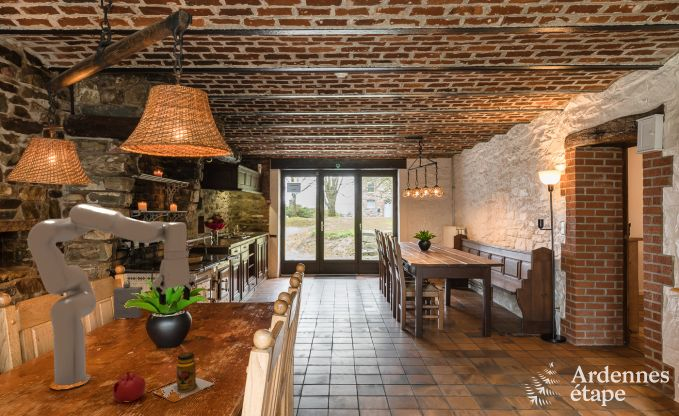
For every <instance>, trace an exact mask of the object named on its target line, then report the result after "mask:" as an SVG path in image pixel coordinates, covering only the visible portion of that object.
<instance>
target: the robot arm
mask: <svg viewBox="0 0 679 416" xmlns="http://www.w3.org/2000/svg"><path fill="white" fill-rule="evenodd" d="M90 231H98V232H103V233H106V234H110V235H113V236H115V237H119V238H120V239H121V238H122V239H123V240H124V239H125V240H129V241H133V242H137V243H143V244H151V243H156V242H157V243H158V242H161V241H162V242H163V241H164V244H163V245H164V247H163V249H164V250H163V251H164V252H163V253H164V255H163V257H164V258H163V259H162V260H161V263H160V267H159V276H158V278H157V279H155V280H154V281H152V282H151V285H152V288H153V289H154V291H155V292H156V293H158V303H159V305H161V306H166V305H167V293H166V291H167V290H168V289H171V288H177V287H182V286H183V290H182V298H183V299H182V300H185V301H190V300H191V290H192V287H193V286H194V285H195V281H196V279H197V276H196V275H193V274H191V273H190V266H189V260H188V258H187V256H188V255H190V254H189V251H188V250H187V224H186V223H185V222H181V221H179V222H178V221H169V222H167V221H161V220H160V221H158V220H157V221H144V220H139V219H135V218H132V217H128V216H125V215H123V213H122V212H120V211H118V210H114V209H109V208H104V207H103V206H102V205H100V204H97V203H78V204H76V205H74V206H72V207H71V209H70V210H69V213H68V217H65V218H51V219H43V220H42V221H40V222H38V223H36V224H35V225H34V226H32V227H31V229H30V231H28V232H29V233H28V236H27V246H28V249H29V253H30V254H31V256H32V258H33V260H34V262H35V265H36V268H37V271H38V273H39V275H40V276H39V277H40V278H41V281H42V284H43V286H44V289H45V290H46V291H47V293H48V294H50V295H53V296H57V295H63V294H65V296H64V297H61V298H59V299H58V300H57V301H55V302H54V303H53V304H52V305H51V308H50V313H49V315H50V320H51V326H52V330H53V331H52V332H53V333H52V334H53V360H54V361H53V362H54V363H53V366H54V367H53V369H54V380H55V384H57V385H71V384H75V383H78V382H80V381H81V382H82V383H83V382H85V381H87V380H89V379H90V377H91V374H88V373H86V371H87V367H86V365H87V364H86V334H85V333H86V332H85V326H84V324H83V323H84V322H83V320H82V318H84V317H87V316H88V315H90V314H92V312H94V311H95V309H96V306H97V299H96V298H97V297H96V295H95V292H94V290H93V288H92V285H91V283H90V279H89V277H88V275H87V273H86V272H85V270H84V269H83V268H82V267H80V266H78V265H71V264H70V265H68V264H67V262H66V259H65V256H64V254H63V252H62V251H61V250H60V249H59V248H58V247H57V245H56V244H57V243H62V242H68V241H72V240H75V239H77V238H80V237H82V236H83V235H84V234H86V233H89V232H90ZM87 377H89V378H87Z"/></svg>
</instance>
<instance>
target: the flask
mask: <svg viewBox="0 0 679 416" xmlns="http://www.w3.org/2000/svg"><path fill="white" fill-rule="evenodd" d="M131 293H139V294H141V295H142V287H141V286H131V283H129V282H127V283H123V286H121V287H120V286H119V287H115V288H113V320H118V319H117V318H138V317H141V318H142V307H141V308H137V307H131V308H125V307H124V305H125V303H126V302H127V301H128V300H130V299H139V298H138V297H137V296H135V295H132V294H131ZM138 319H139V318H138Z"/></svg>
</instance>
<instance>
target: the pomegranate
mask: <svg viewBox="0 0 679 416" xmlns="http://www.w3.org/2000/svg"><path fill="white" fill-rule="evenodd" d="M122 375H124V377H118V378H116V382H115V384H114V385H113V387H112V396H113V398H114V400H115V401H116V402H118V401H119V402H118V403H120V402H124V401H133V402H135V401H137V400H138V399H139V397H140V398H141V397H142V396H143V394H144V393H145V390H146V380H145V378H143V377H141V376H140V375H141V373H139V372H131V371H130V370H128V371H126V373H123V374H122ZM136 399H137V400H136ZM134 400H135V401H134Z"/></svg>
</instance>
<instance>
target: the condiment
mask: <svg viewBox="0 0 679 416" xmlns="http://www.w3.org/2000/svg"><path fill="white" fill-rule="evenodd" d="M196 371H197V370H196V361H195V353H194V352H189V351H188V352H182V353H179V354H178V355H177V363H176V379H177V382H176V383H177V385H175V386H173V387H174V389H175V391H176V393H177V394H178V395H180V394H185V393H189V392H193V391H196V390H200V388H199V387H198V385H197V384H196V378H197V377H196Z"/></svg>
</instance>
